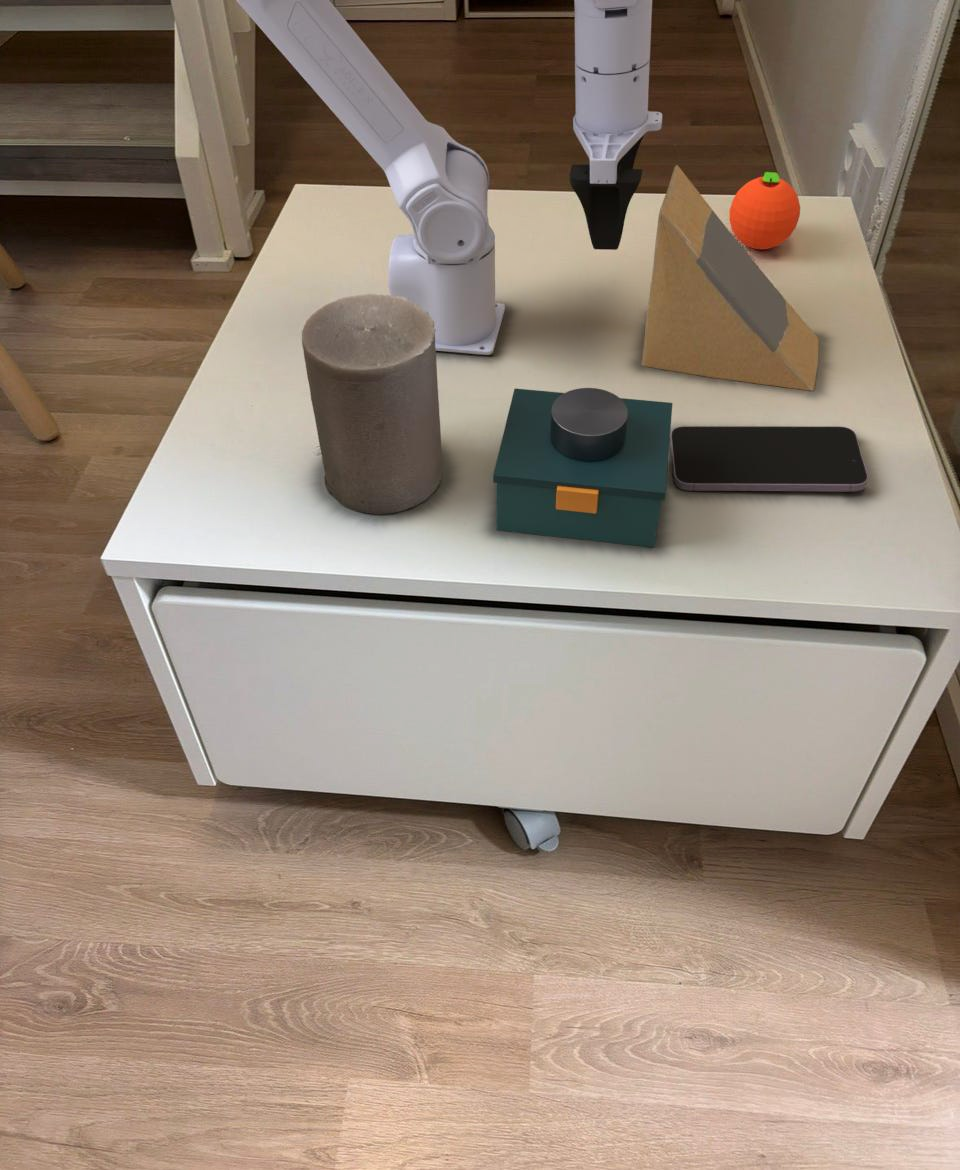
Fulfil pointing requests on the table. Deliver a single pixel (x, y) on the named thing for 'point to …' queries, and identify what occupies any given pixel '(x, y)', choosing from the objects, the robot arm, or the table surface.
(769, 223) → the clementine
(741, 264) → the sandwich container
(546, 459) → the box
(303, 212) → the table surface
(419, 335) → the pillar candle
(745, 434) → the smartphone
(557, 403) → the grey disc
